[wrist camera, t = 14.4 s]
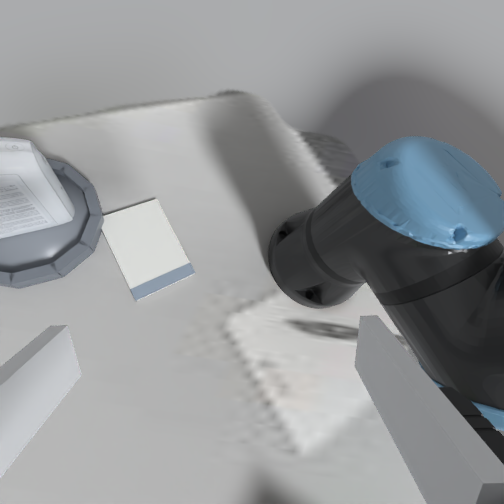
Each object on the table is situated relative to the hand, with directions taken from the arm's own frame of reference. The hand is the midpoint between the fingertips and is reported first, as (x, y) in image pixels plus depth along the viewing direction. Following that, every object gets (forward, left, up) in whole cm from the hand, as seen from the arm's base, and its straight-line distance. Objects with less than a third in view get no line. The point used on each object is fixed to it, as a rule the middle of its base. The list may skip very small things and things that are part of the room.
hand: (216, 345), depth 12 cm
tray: (+13, -21, -23) cm, 34 cm away
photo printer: (+12, -21, -23) cm, 33 cm away
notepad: (+1, -14, -23) cm, 27 cm away
